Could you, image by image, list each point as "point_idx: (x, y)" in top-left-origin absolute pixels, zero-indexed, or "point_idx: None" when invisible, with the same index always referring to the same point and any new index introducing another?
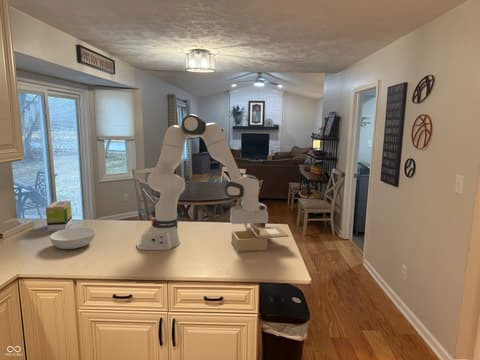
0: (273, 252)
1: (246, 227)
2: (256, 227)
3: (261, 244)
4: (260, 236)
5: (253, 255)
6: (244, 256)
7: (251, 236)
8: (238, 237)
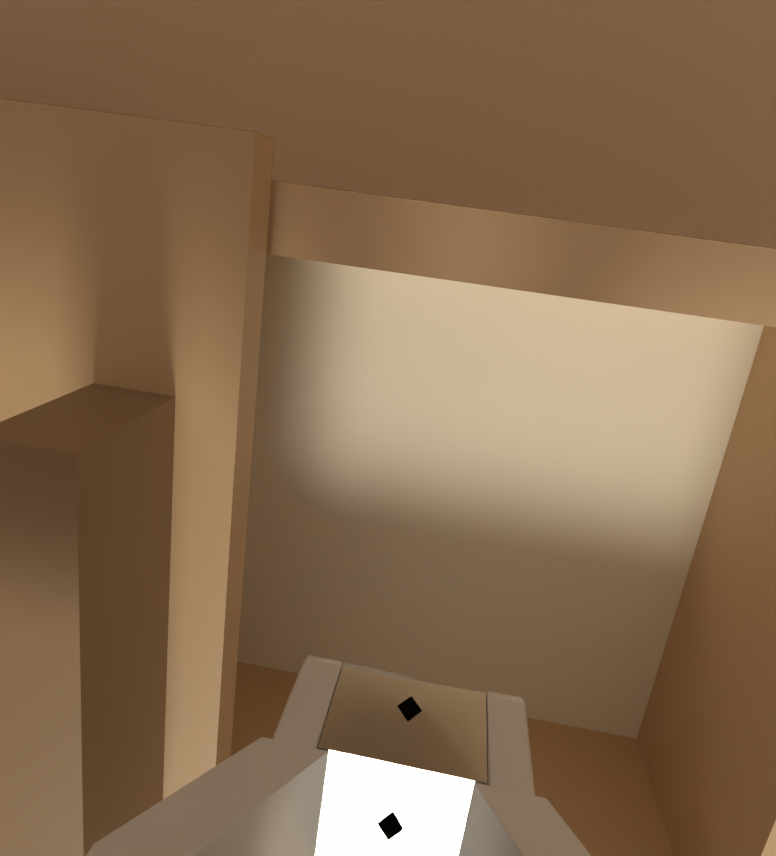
0: (33, 51)
1: (548, 839)
2: (26, 787)
3: None
4: (124, 171)
5: (521, 10)
6: (753, 12)
7: (251, 737)
8: (548, 792)
